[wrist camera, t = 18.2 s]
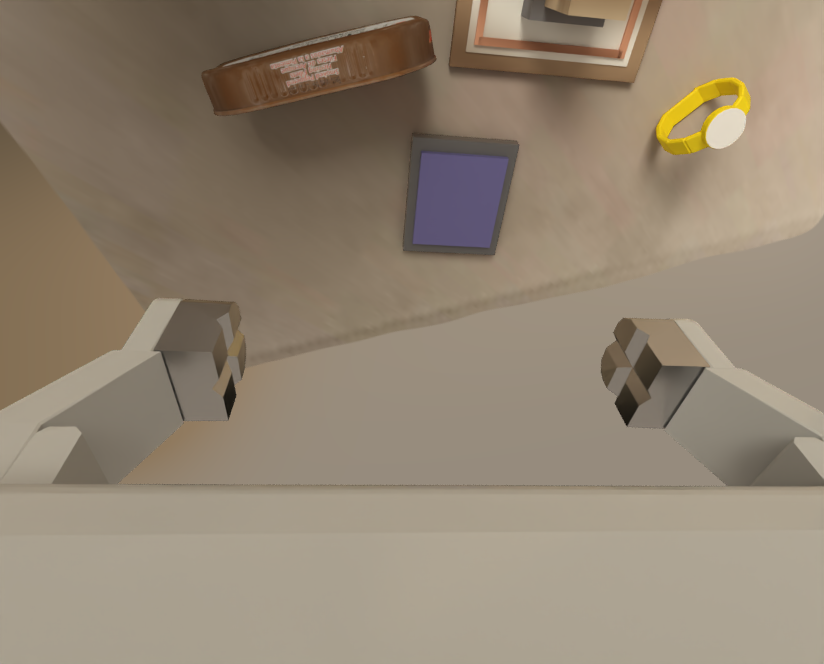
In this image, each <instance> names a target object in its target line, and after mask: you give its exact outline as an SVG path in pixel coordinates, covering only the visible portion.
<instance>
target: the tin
mask: <svg viewBox="0 0 824 664" xmlns="http://www.w3.org/2000/svg"><path fill="white" fill-rule="evenodd" d="M435 61H436V56H435V55H434V50H433V44H432V37H431V30H430V25H429V22H428V20H427V19H423V18H421V17H418V16H409V17H404V18H399V19H394V20H390V21H385V22H381V23H377V24H372V25H368V26H364V27H360V28H355V29H351V30H347V31H342V32H338V33H333V34H329V35H325V36H320V37H316V38H312V39H308V40H304V41H300V42H297V43H293V44H289V45H285V46H281V47H278V48H274V49H270V50H267V51H263V52H259V53H256V54H252V55H248V56H245V57H241V58H238V59H235V60H231V61H228V62H225V63H223V64H221V65H219V66H218V67H216V68H214V69H210V70H206V71H204V72H203V73H202V75H201V76H202V80H203V83H204V85H205V88H206V90H207V93H208V95H209V97H210V100H211V102H212V105H213V107H214V114H215V115H217V116H229V115H236V114H242V113H248V112H253V111H257V110H262V109H266V108H270V107H274V106H279V105H283V104H287V103H292V102H296V101H300V100H304V99H308V98H312V97H317V96H321V95H325V94H330V93H334V92H338V91H343V90H347V89H351V88H355V87H360V86H364V85H368V84H373V83H377V82H381V81H385V80H388V79H392V78H395V77H399V76H403V75H406V74H408V73H411V72H414V71H417V70H420V69H422V68H425V67H427V66H429V65H431V64H432V63H434V62H435Z"/></svg>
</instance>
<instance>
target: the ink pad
mask: <svg viewBox="0 0 824 664" xmlns="http://www.w3.org/2000/svg"><path fill="white" fill-rule="evenodd" d="M518 149H519V144H518V142H517V141H511V140H498V139H484V138H471V137H457V136H444V135H431V134H417V133H412V142H411V154H410V166H409V178H408V189H407V201H406V213H405V225H404V236H403V250H404V251H424V252H444V253H464V254H484V255H495V250H496V246H497V242H498V237H499V233H500V228H501V224H502V219H503V215H504V211H505V206H506V202H507V197H508V193H509V188H510V184H511V180H512V175H513V171H514V166H515V162H516V157H517V153H518Z"/></svg>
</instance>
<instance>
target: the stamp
mask: <svg viewBox="0 0 824 664" xmlns="http://www.w3.org/2000/svg"><path fill="white" fill-rule="evenodd" d="M631 2H632V0H524V2H523V7H522V12H521V16H522V17H524V18H526V19H528V20H535V21H545V22H555V23H564V24H574V25H584V26H594V27H603V26H604V22H605V19H610V20H620V21H626V17H627V14H628V11H629V8H630V5H631Z"/></svg>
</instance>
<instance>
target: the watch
mask: <svg viewBox="0 0 824 664" xmlns="http://www.w3.org/2000/svg"><path fill="white" fill-rule="evenodd" d="M721 95H737V96H738V98H737V100H736V101H735V103H734V104H733V105H732V106H723V107H720V108H718V109H717V110H715V111H713V112H712V113H711V114H710V115H709V116H708V117H707V119H706V120H705V122H704V123H703V126H702V128H701V131H700V132H697V133H695V134H693V135H690V136H688V137H686V138H680V139H671V140H670V139H668V138H667V137H668V135H669V133H670V132H671V130H672V128H673V126H674V125H676V124H677V123H678V122H680V121H681V120H682V119H683V118H685V117H686V116H687V115H688V114H690V113H691V112H692V111H694V110H695V109H696V108H697V107H699V106H700V105H701V104H702V103H704V102H706V101H709V100H711V99H714V98H717V97H719V96H721ZM750 98H751V97H750V95H749V93H748V91H747V89H746V87H745V84H744V83H743V82H741V81H740V80H738V79H736V78H723V79H717V80H713V81H710V82H708V83H706V84H703V85H701V86H698V87H697V88H694V90H693V91H692V92H691V93H690V94H688V95H687V96H686V97H685V98H683V99H682V100H681V101H680V102H679V103H677V104H676V105H675V106H674V107H672V108H671V109H670V110H669V111H667V112H666V113H665V114H663V116H662V118H661V119H660V121H659V123H658V125H657V128H656V135H657V139H658V141H659V142H660V144H661V145H662V147H663V149H664V150H665V151H667V152H669V153H671V154H673V155H679V154H691V153H694V152H697V151H699V150H702V149H704V148H707V147H710V148H713V149H722V148H725V147H727V146H729V145H731V144H732V143H734V142H735V141H736V140H737V139H738V138H739V137H740V135H741V134H742V132H743V130H744V128H745V125H746V114H747V113H748V112H749V109H750Z"/></svg>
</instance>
